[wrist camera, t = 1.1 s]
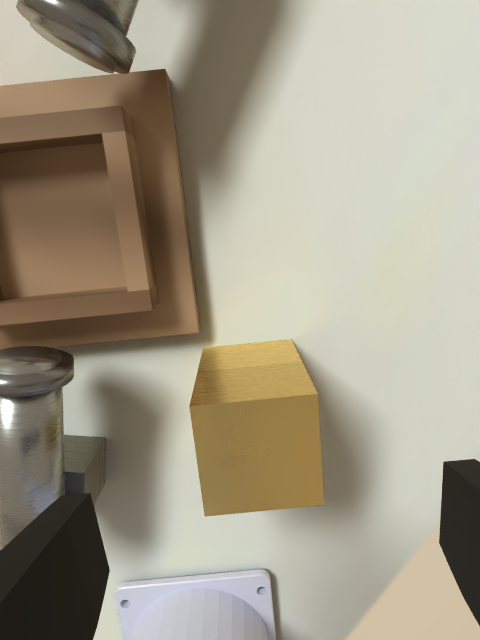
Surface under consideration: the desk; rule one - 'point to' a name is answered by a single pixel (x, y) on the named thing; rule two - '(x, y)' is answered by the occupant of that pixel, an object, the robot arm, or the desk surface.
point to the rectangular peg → (256, 429)
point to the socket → (92, 213)
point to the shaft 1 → (86, 29)
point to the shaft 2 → (40, 439)
